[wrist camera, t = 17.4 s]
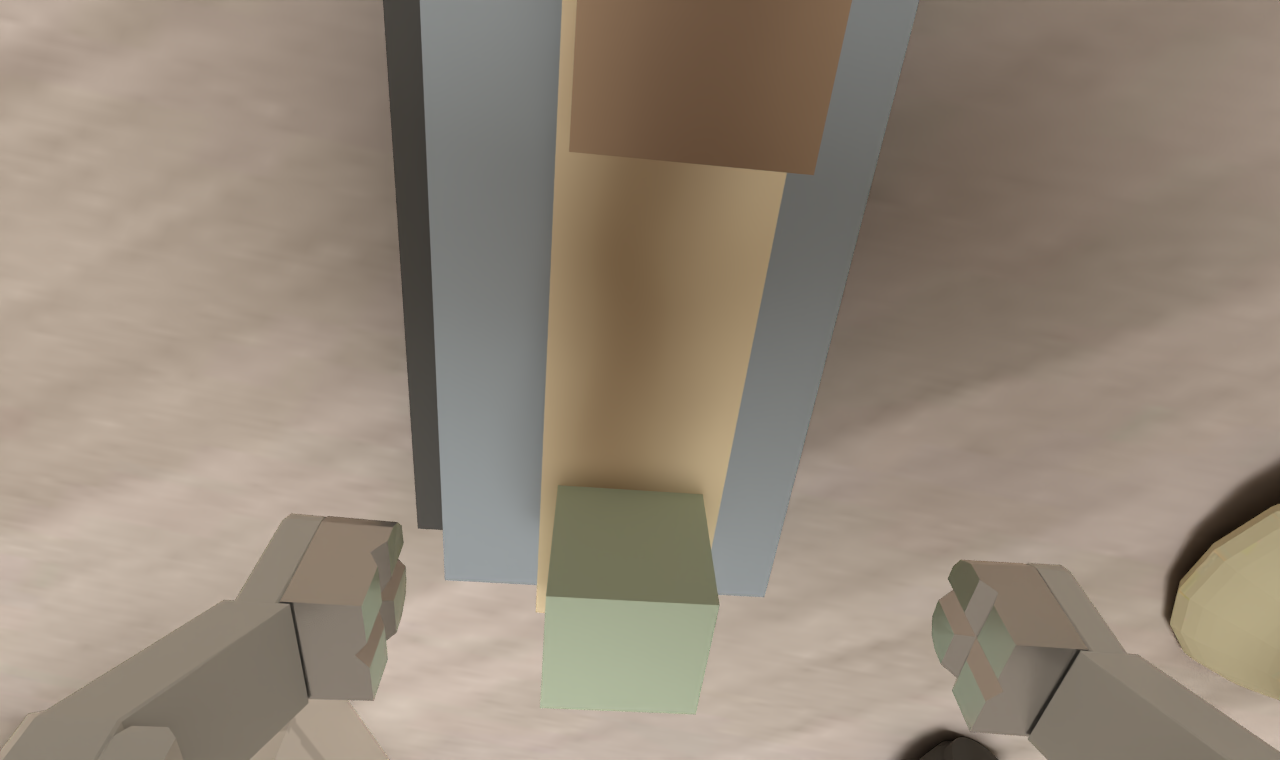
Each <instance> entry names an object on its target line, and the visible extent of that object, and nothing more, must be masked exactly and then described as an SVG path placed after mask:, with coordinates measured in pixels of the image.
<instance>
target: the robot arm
mask: <svg viewBox="0 0 1280 760" xmlns="http://www.w3.org/2000/svg"><path fill="white" fill-rule="evenodd" d="M402 546H403V534H402V526H401V525H400V524H399V523H398V522H389V521H378V520H367V519H355V518H344V517H333V516H327V517H323V516H313V515H303V514H293V513H291V514H290V515H289V516H287V517H286V518H285V519H284V520H282V522H281V523H280V525H279V527H278V529H277V530H276V532H275V534H274V535H273V537H272V539H271V540H270V542H269V544H268V545H267V547H266V549H265V550H264V552H263V554H262V556H261V557H260V559H259V561H258V562H257V564H256V566H255V567H254V569H253V571H252V572H251V574H250V576H249V577H248V579H247V581H246V583H245V584H244V586H243V588H242V589H241V591H240V593H239V594H238V596H237V598H236V599H235V601H234V600H223V601H221V602H220V603H218V604H216V605H215V606H213V607H212V608H210V609H208V610H207V611H205V612H203V613H202V614H200V615H199V616H197V617H195V618H194V619H192V620H191V621H189V622H187V623H186V624H184V625H183V626H181V627H179V628H178V629H176V630H175V631H173V632H171V633H170V634H168V635H166V636H165V637H163V638H162V639H160V640H158V641H157V642H155V643H154V644H152V645H150V646H149V647H147V648H146V649H144V650H142V651H141V652H139V653H137V654H136V655H134V656H133V657H131V658H129V659H128V660H126V661H125V662H123V663H121V664H120V665H118V666H117V667H115V668H113V669H112V670H110V671H109V672H107V673H105V674H104V675H102V676H100V677H99V678H97V679H96V680H94V681H92V682H91V683H89V684H88V685H86V686H84V687H83V688H81V689H80V690H78V691H76V692H75V693H73V694H72V695H70V696H68V697H67V698H65V699H63V700H62V701H60V702H59V703H57V704H55V705H54V706H52V707H51V708H49V709H47V710H46V711H44V712H43V713H41V714H39V715H38V716H36V717H35V718H34V719H33V721H32V722H31V723H30V724H29V726H28V727H27V728H26V730H25V731H24V732H23V734H22V735H21V736H20V738H19V739H18V740H17V742H16V743H15V744H14V745H13V747H12V748H11V749H10V751H9V752H8V753H7V755H6V756H5V757H4V759H3V760H250V759H251V758H252V757H253V756H254V755H255V754H256V753H257V752H258V751H259V750H260V749H261V748H262V747H263V746H264V745H265V744H266V743H268V742H269V741H270V740H271V739H272V738H273V737H274V736H275V735H276V734H277V733H278V732H279V731H280V730H281V729H282V728H283V727H284V726H285V725H286V724H287V723H288V722H289V721H291V720H292V719H293V718H294V717H295V716H296V715H297V714H298V713H299V712H300V711H301V710H302V709H303V708H304V707H305V706H306V705H307V704H308V703H309V700H308V699H324V700H366V701H374V698H375V695H376V692H377V689H378V686H379V683H380V680H381V677H382V674H383V671H384V668H385V666H386V663H387V660H388V657H387V647H386V640H388V639H389V638H390V637H391V636H393V635H394V634H395V633H396V632H397V629H398V626H399V623H400V620H401V616H402V612H403V606H404V601H405V595H406V567H405V565H404V564H403V563H402V562H401V561H400V560H399V559H398V557H399V555H400V552H401V549H402ZM948 580H949V582H950V584H951V586H952V588H953V590H952V591H951V592H949V593H948V594H946V595H945V596H944V597H942V598H941V599H939V600H938V603H937V606H936V608H935V611H934V614H933V616H932V638H933V643H934V648H935V651H936V653H937V656H938V658H939V661H940V663H941V664H942V665H943V666H944V667H945V668H946V669H947V670H948V671H950V672H951V673H952V674H953V675H954V676H955V677H956V681H955V684H954V687H953V689H952V691H953V694H954V696H955V698H956V701H957V703H958V705H959V707H960V710H961V712H962V714H963V717H964V719H965V721H966V724H967V726H968V728H969V731H970V732H980V733H993V734H1005V735H1018V736H1029V738H1028V740H1029V741H1030V742H1031V743H1032V744H1033V745H1034V746H1035V747H1036V748H1037V749H1038V750H1039V751H1040V752H1041V753H1042V754H1043V755H1044V756H1045V757H1046V759H1047V760H1280V752H1279V751H1278V750H1276V749H1275V748H1273V747H1272V746H1270V745H1269V744H1267V743H1266V742H1265V741H1263V740H1262V739H1260V738H1259V737H1257V736H1256V735H1254V734H1253V733H1251V732H1250V731H1248V730H1247V729H1246V728H1244V727H1243V726H1241V725H1240V724H1238V723H1237V722H1235V721H1234V720H1232V719H1231V718H1230V717H1228V716H1227V715H1225V714H1224V713H1222V712H1221V711H1219V710H1218V709H1216V708H1215V707H1214V706H1212V705H1211V704H1209V703H1208V702H1206V701H1205V700H1203V699H1202V698H1200V697H1199V696H1197V695H1196V694H1195V693H1193V692H1192V691H1190V690H1189V689H1187V688H1186V687H1184V686H1183V685H1181V684H1180V683H1179V682H1177V681H1176V680H1174V679H1173V678H1171V677H1170V676H1168V675H1167V674H1165V673H1164V672H1163V671H1161V670H1160V669H1158V668H1157V667H1155V666H1154V665H1152V664H1151V663H1149V662H1148V661H1147V660H1145V659H1144V658H1142V657H1141V656H1139V655H1138V654H1127V653H1126V651H1125V650H1124V648H1123V647H1122V645H1121V644H1120V643H1119V641H1118V640H1117V638H1116V637H1115V635H1114V634H1113V633H1112V631H1111V630H1110V628H1109V627H1108V625H1107V624H1106V622H1105V621H1104V620H1103V618H1102V617H1101V615H1100V614H1099V612H1098V611H1097V610H1096V608H1095V607H1094V605H1093V604H1092V602H1091V601H1090V600H1089V598H1088V597H1087V595H1086V594H1085V592H1084V591H1083V589H1082V588H1081V587H1080V585H1079V584H1078V582H1077V581H1076V579H1075V578H1074V577H1073V575H1072V574H1071V572H1070V571H1069V570H1067V569H1066V568H1064V567H1063V566H1062V565H1052V564H1033V563H1027V564H1023V563H1009V562H992V561H974V560H960V561H959V562H958V563H957V564H955V565H954V566H953V568H952V571H951V573H950V575H949V577H948Z"/></svg>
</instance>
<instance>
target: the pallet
mask: <svg viewBox="0 0 1280 760" xmlns="http://www.w3.org/2000/svg"><path fill="white" fill-rule="evenodd" d="M576 8H577V0H562V15H561V38H560V61H559V85H558V108H557V131H556V154H555V178H554V201H553V224H552V247H551V271H550V294H549V317H548V340H547V363H546V387H545V410H544V433H543V456H542V480H541V503H540V526H539V549H538V573H537V596H536V612H540V613H545V605H546V591H547V582H548V573H549V563H550V554H551V545H552V536H553V527H554V518H555V508H556V499H557V490H558V485H562V486H578V487H594V488H610V489H626V490H642V491H658V492H673V493H689V494H703V500H704V506H705V513H706V519H707V526H708V533H709V539H710V546H711V549H712V544H713V539H714V534H715V529H716V524H717V519H718V514H719V509H720V504H721V499H722V494H723V489H724V484H725V479H726V474H727V469H728V464H729V459H730V454H731V449H732V444H733V439H734V434H735V429H736V424H737V419H738V414H739V409H740V404H741V399H742V394H743V389H744V384H745V379H746V374H747V369H748V364H749V359H750V354H751V349H752V344H753V339H754V334H755V329H756V324H757V319H758V314H759V309H760V304H761V299H762V294H763V289H764V284H765V279H766V274H767V269H768V264H769V259H770V254H771V249H772V244H773V239H774V234H775V229H776V224H777V219H778V214H779V209H780V204H781V199H782V194H783V189H784V185H785V180H786V175H787V173H785V172H774V171H764V170H753V169H743V168H733V167H722V166H712V165H701V164H691V163H680V162H670V161H659V160H649V159H638V158H628V157H617V156H607V155H596V154H586V153H576V152H569V143H570V124H571V104H572V85H573V66H574V47H575V27H576Z"/></svg>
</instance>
